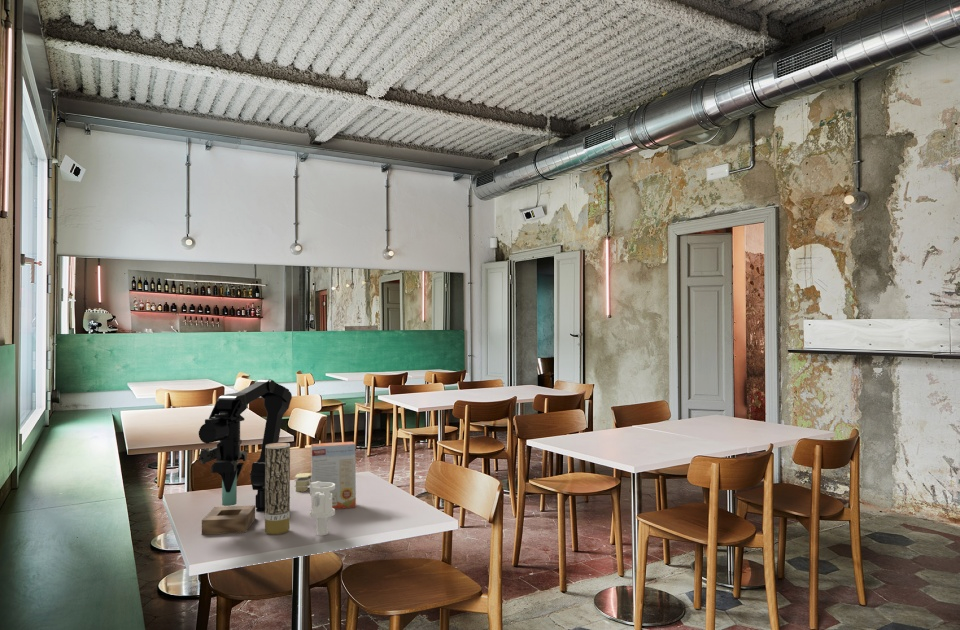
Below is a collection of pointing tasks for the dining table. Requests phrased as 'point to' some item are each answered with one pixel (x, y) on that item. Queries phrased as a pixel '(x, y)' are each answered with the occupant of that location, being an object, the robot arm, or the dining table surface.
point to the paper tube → (277, 488)
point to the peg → (229, 494)
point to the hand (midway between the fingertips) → (229, 490)
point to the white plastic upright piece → (321, 505)
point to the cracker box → (336, 471)
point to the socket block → (228, 519)
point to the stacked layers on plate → (302, 481)
